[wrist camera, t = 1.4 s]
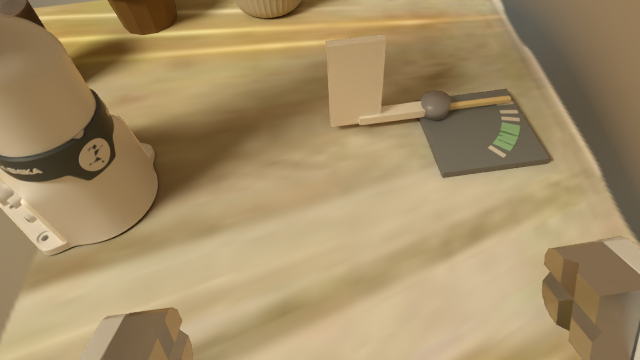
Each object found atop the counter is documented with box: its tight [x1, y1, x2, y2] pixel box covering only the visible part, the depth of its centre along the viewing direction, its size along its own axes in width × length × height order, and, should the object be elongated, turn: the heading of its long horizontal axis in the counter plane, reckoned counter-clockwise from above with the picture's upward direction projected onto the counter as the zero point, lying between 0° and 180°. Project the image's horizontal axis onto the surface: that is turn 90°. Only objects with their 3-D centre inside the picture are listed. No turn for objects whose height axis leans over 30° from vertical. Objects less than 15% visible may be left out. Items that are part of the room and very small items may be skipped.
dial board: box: [414, 89, 550, 178], centre depth 59 cm, size 14×14×1 cm
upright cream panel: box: [326, 34, 511, 127], centre depth 55 cm, size 26×4×13 cm, turn 97°
